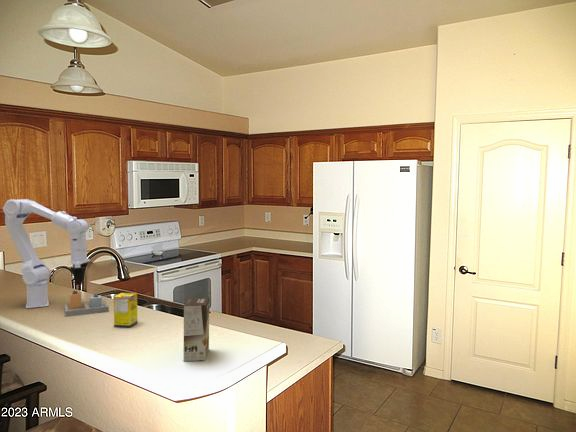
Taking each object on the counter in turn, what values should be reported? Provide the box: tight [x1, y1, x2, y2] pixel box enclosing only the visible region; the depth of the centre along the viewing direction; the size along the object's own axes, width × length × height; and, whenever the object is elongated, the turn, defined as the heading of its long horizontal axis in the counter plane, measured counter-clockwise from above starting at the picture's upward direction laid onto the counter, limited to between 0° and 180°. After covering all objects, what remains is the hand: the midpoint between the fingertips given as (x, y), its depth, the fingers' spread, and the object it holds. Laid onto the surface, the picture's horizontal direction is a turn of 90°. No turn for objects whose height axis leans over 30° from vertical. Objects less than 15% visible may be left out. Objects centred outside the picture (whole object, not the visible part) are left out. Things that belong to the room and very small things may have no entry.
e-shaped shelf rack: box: [64, 299, 110, 317], centre depth 166 cm, size 11×15×2 cm
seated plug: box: [89, 293, 103, 308], centre depth 168 cm, size 4×4×6 cm
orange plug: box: [68, 290, 82, 308], centre depth 172 cm, size 4×4×6 cm
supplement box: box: [113, 292, 138, 329], centre depth 149 cm, size 6×6×11 cm
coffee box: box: [183, 296, 210, 362], centre depth 123 cm, size 9×6×16 cm
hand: (79, 282), depth 171 cm, fingers open, 7 cm apart
